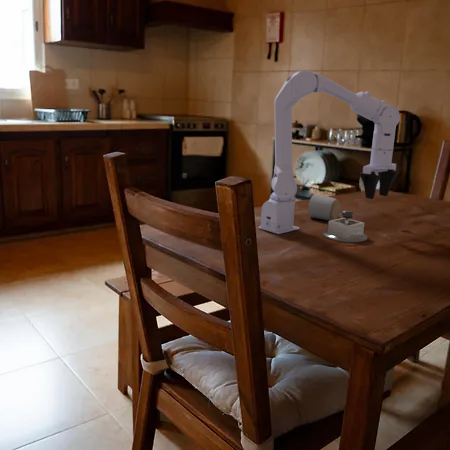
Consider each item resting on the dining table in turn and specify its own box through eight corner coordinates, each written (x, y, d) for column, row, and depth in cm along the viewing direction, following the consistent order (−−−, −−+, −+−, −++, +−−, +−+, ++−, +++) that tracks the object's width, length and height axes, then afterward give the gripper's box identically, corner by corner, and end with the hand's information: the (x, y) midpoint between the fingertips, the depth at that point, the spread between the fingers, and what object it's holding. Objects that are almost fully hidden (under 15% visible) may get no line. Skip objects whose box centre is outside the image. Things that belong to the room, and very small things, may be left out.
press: (351, 245, 134) (353, 229, 133) (314, 234, 142) (316, 220, 141) (375, 237, 142) (377, 223, 141) (339, 228, 150) (340, 214, 149)
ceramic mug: (331, 223, 156) (333, 199, 154) (306, 219, 160) (309, 195, 158) (343, 218, 165) (346, 194, 163) (319, 214, 169) (322, 191, 167)
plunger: (347, 236, 139) (350, 214, 137) (333, 233, 142) (335, 211, 141) (357, 234, 142) (359, 212, 140) (343, 230, 145) (345, 209, 144)
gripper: (381, 152, 135) (375, 202, 138) (408, 149, 144) (401, 196, 148) (358, 149, 139) (353, 197, 143) (385, 147, 149) (380, 192, 153)
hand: (376, 197), depth 146 cm, fingers open, 7 cm apart
